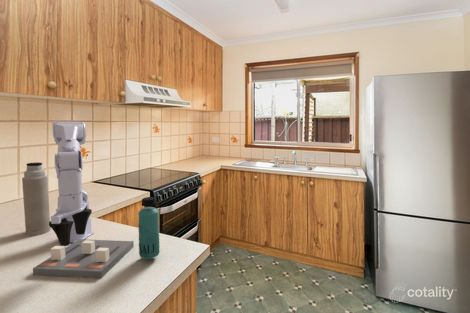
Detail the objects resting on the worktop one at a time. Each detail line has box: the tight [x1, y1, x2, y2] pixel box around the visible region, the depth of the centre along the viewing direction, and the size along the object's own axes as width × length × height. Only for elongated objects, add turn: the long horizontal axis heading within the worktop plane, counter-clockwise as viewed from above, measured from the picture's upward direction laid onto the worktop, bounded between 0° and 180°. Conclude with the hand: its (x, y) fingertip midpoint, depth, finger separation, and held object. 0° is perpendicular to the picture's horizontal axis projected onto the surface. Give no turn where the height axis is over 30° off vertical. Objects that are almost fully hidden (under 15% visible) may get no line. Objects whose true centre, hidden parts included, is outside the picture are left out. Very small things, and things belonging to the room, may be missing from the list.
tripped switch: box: [82, 239, 95, 254], centre depth 83 cm, size 2×3×4 cm, turn 86°
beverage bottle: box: [137, 196, 160, 260], centre depth 83 cm, size 6×7×20 cm
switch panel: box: [32, 238, 135, 279], centre depth 83 cm, size 20×20×6 cm
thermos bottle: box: [21, 161, 52, 236], centre depth 104 cm, size 8×8×28 cm
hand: (73, 239), depth 76 cm, fingers open, 7 cm apart
